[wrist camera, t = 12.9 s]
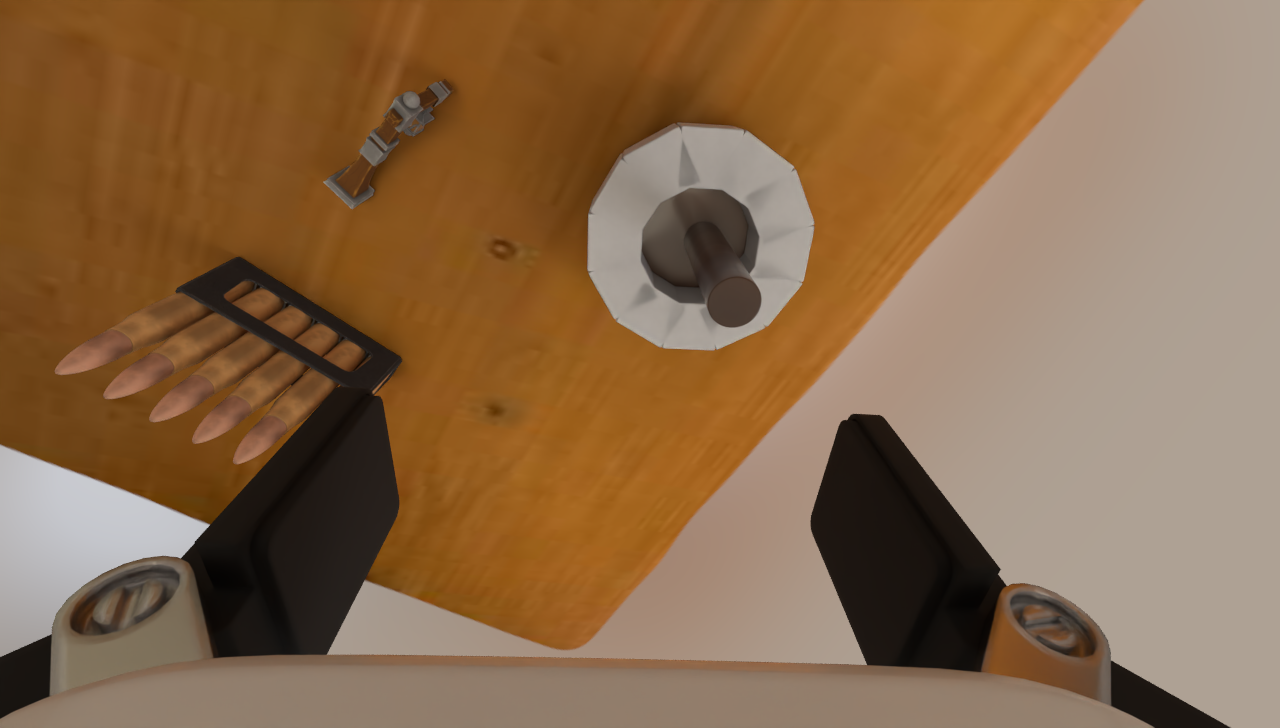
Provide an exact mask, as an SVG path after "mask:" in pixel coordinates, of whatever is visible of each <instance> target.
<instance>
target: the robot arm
mask: <svg viewBox="0 0 1280 728" xmlns="http://www.w3.org/2000/svg"><path fill="white" fill-rule="evenodd" d="M398 510H399V495H398V489H397V483H396V477H395V472H394V466H393V460H392V454H391V448H390V442H389V436H388V430H387V424H386V418H385V412H384V406H383V402H382V399H381V397H379V396H374V394H373V392H372V391H371V389H369V388H355V387H337V388H336V389H334V390H333V391H332V392H331V393H330V395H329V396H328V397H327V398H326V399H325V400H324V401H323V402H322V403H321V404H320V405H319V407H318V408H317V409H316V410H315V411H314V412H313V413H312V414H311V415H310V416H309V418H308V419H307V420H306V421H305V422H304V423H303V424H302V425H301V426H300V427H299V428H298V430H297V431H296V432H295V433H294V434H293V435H292V436H291V437H290V438H289V439H288V441H287V442H286V443H285V444H284V445H283V446H282V447H281V448H280V449H279V450H278V451H277V453H276V454H275V455H274V456H273V457H272V458H271V459H270V460H269V461H268V462H267V463H266V465H265V466H264V467H263V468H262V469H261V470H260V471H259V472H258V473H257V474H256V476H255V477H254V478H253V479H252V480H251V481H250V482H249V483H248V484H247V485H246V486H245V488H244V489H243V490H242V491H241V492H240V493H239V494H238V495H237V496H236V497H235V499H234V500H233V501H232V502H231V503H230V504H229V505H228V506H227V507H226V508H225V509H224V511H223V512H222V513H221V514H220V515H219V516H218V517H217V518H216V519H215V520H214V522H213V523H212V524H211V525H210V526H209V527H208V528H207V529H206V530H205V531H204V533H203V534H202V535H201V536H200V537H199V538H198V539H197V540H196V541H195V544H194V545H193V546H192V547H191V548H190V549H189V550H188V551H187V552H186V553H185V555H184V556H183V557H182V558H181V559H180V558H178V557H169V556H158V557H150V558H143V559H140V560H136V561H133V562H129V563H126V564H123V565H121V566H118V567H117V568H114V569H112V570H109V571H107V572H105V573H103V574H101V575H100V576H98V577H97V578H95V579H93V580H92V581H90V582H88V583H87V584H85V585H84V586H82V587H81V588H80V589H79V590H78V591H76V592H75V593H74V594H73V595H72V596H71V597H69V598H68V599H67V600H66V602H65V603H64V604H63V606H62V607H61V608H60V610H59V611H58V612H57V614H56V616H55V620H54V623H53V626H52V634H51V635H49V636H47V637H45V638H42V639H40V640H38V641H36V642H33V643H31V644H29V645H27V646H24V647H22V648H20V649H18V650H15V651H13V652H11V653H9V654H6V655H4V656H2V657H0V728H1230V727H1228V726H1227V725H1224V724H1223V723H1221V722H1220V721H1218V720H1216V719H1214V718H1212V717H1211V716H1209V715H1207V714H1205V713H1204V712H1202V711H1200V710H1198V709H1196V708H1195V707H1193V706H1191V705H1189V704H1187V703H1186V702H1184V701H1182V700H1180V699H1179V698H1177V697H1175V696H1173V695H1171V694H1170V693H1168V692H1166V691H1164V690H1163V689H1161V688H1159V687H1157V686H1155V685H1154V684H1152V683H1150V682H1148V681H1146V680H1145V679H1143V678H1141V677H1139V676H1138V675H1136V674H1134V673H1132V672H1131V671H1129V670H1127V669H1125V668H1123V667H1122V666H1120V665H1118V664H1116V663H1114V662H1113V661H1111V656H1110V655H1111V652H1110V648H1109V644H1108V640H1107V639H1106V637H1105V635H1104V634H1103V632H1102V630H1101V629H1100V627H1099V626H1098V625H1097V624H1096V623H1095V622H1094V621H1093V620H1092V619H1091V618H1090V617H1089V616H1088V614H1086V613H1085V612H1084V611H1083V610H1081V609H1080V608H1079V607H1077V606H1076V605H1075V604H1074V603H1072V602H1071V601H1069V600H1067V599H1065V598H1064V597H1062V596H1060V595H1058V594H1057V593H1055V592H1052V591H1050V590H1047V589H1044V588H1042V587H1039V586H1035V585H1030V584H1025V583H1020V584H1011V585H1009V586H1006V584H1005V583H1004V582H1003V580H1002V579H1001V578H1000V576H999V575H998V573H999V571H1000V568H999V567H998V565H997V564H996V563H995V561H994V560H993V559H992V558H991V556H990V555H989V554H988V552H987V551H986V550H985V549H984V547H983V546H982V545H981V543H980V542H979V541H978V539H977V538H976V537H975V535H974V534H973V533H972V532H971V531H970V529H969V528H968V526H967V525H966V524H965V522H964V521H963V520H962V519H961V517H960V516H959V515H958V513H957V512H956V511H955V510H954V508H953V507H952V506H951V504H950V503H949V502H948V500H947V499H946V498H945V496H944V495H943V494H942V493H941V491H940V490H939V489H938V487H937V486H936V485H935V484H934V482H933V481H932V480H931V479H930V477H929V476H928V474H926V472H925V470H924V469H923V468H922V467H921V465H920V464H919V463H918V461H917V460H916V459H915V457H913V455H912V454H911V452H910V451H909V450H908V448H907V447H906V446H905V444H904V443H903V442H902V441H901V439H900V438H899V437H898V435H897V434H896V433H895V431H894V430H893V429H892V428H891V426H890V425H889V424H888V422H887V421H886V420H885V419H884V418H883V417H882V416H880V415H866V414H852V415H851V416H850V417H849V418H848V420H843V421H842V422H841V423H840V425H839V428H838V431H837V434H836V437H835V441H834V444H833V447H832V450H831V453H830V457H829V460H828V463H827V466H826V470H825V473H824V476H823V480H822V483H821V486H820V489H819V492H818V495H817V499H816V502H815V505H814V509H813V512H812V515H811V530H812V534H813V536H814V539H815V541H816V543H817V546H818V548H819V551H820V553H821V555H822V558H823V560H824V563H825V565H826V567H827V570H828V572H829V575H830V577H831V579H832V582H833V584H834V586H835V589H836V591H837V593H838V596H839V598H840V601H841V603H842V606H843V608H844V611H845V613H846V615H847V618H848V620H849V623H850V625H851V627H852V629H853V632H854V634H855V637H856V639H857V642H858V644H859V646H860V649H861V651H862V654H863V656H864V658H865V661H866V663H867V665H849V664H810V663H808V664H807V663H773V662H736V661H734V662H733V661H696V660H695V661H694V660H649V659H602V658H551V657H492V656H486V657H485V656H428V655H427V656H426V655H327V653H328V651H329V649H330V647H331V645H332V643H333V641H334V639H335V637H336V635H337V633H338V631H339V629H340V627H341V625H342V623H343V621H344V619H345V618H346V616H347V614H348V612H349V610H350V607H351V605H352V604H353V602H354V600H355V598H356V596H357V594H358V592H359V590H360V588H361V586H362V584H363V582H364V580H365V578H366V576H367V574H368V572H369V570H370V568H371V566H372V564H373V562H374V560H375V559H376V557H377V555H378V553H379V551H380V549H381V547H382V545H383V543H384V541H385V539H386V537H387V535H388V533H389V531H390V529H391V527H392V525H393V523H394V521H395V519H396V517H397V514H398Z"/></svg>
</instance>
